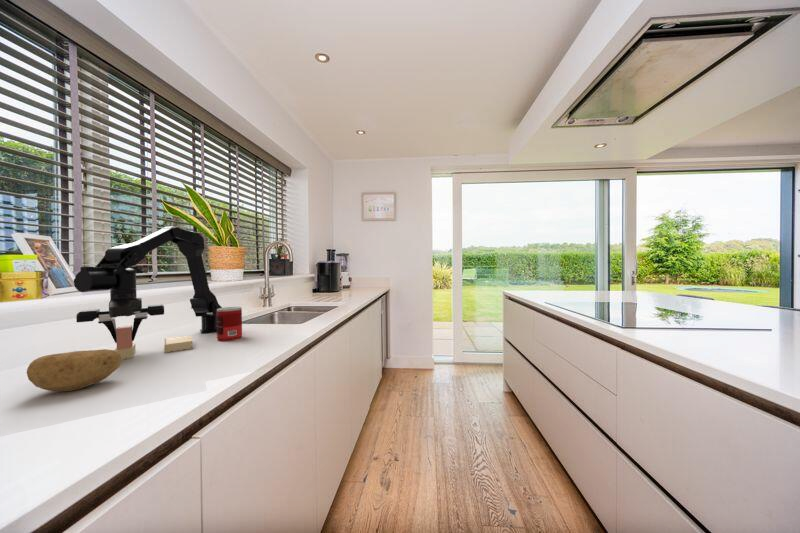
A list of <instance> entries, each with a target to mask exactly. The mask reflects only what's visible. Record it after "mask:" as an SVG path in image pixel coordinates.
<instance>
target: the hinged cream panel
mask: <svg viewBox="0 0 800 533" xmlns="http://www.w3.org/2000/svg"><path fill="white" fill-rule="evenodd" d="M163 340H164V342H163V343H164V348H163V349H164V350H163V351H164V353H165V352H166V353H171V352H170V351H173V352H177V350H179V351H184V350H183V349H186V350H191V348H192V349H193V344H194V343H193V338H192V336H191V335H185V336H177V337H169V338H164V339H163Z"/></svg>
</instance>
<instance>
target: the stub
mask: <svg viewBox="0 0 800 533" xmlns="http://www.w3.org/2000/svg"><path fill="white" fill-rule="evenodd" d="M132 331H133V325H123V326H116V338H117V343H116V347H115V349H114V350H115V351H117V352H119V353H120V355H121V357H122V360H126V359H125V358H127V359H131V358H132V357H133V358H134V356H135V353H136V342H134V341H132ZM133 355H134V356H133Z"/></svg>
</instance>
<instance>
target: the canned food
mask: <svg viewBox="0 0 800 533" xmlns="http://www.w3.org/2000/svg"><path fill="white" fill-rule="evenodd" d="M242 311H243V310H242V307H241V306H224V307H222V308H219V309H217V331H216V338H217V341H219V342H231V341H235V339H236V340H239V339H241V338H242V337H243V312H242ZM230 340H231V341H230Z"/></svg>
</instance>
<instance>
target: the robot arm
mask: <svg viewBox="0 0 800 533" xmlns="http://www.w3.org/2000/svg"><path fill="white" fill-rule="evenodd" d="M169 242H170V243H172V244H175V245H176V246H177V248H178V251H179V252H180V253H181V254H182V255H183V256H184V257H185V259H186V262H187V266H188V270H189V274H190V278H191V282H192V286H193V290H194V294H193V297H192V298H190V299H189V302H190V305H191V308H190V309H192V310H193V312H194V315H195V317H196V318H198V317H201V318H200V320H201V328H200V329H199V332H200V333H201V334H205V333H213V332H217V309H219V308H223V307H222V306H221V305H220V304H219V302H218V299H217V297H216V295H215V294H214V293H213V292H212V291H211V290H210V286H209V282H208V278H207V273H206V269H205V264H204V260H203V253H204V250H205V239H204V236H203V235H202V234H200V233H198V232H193V231H190V230H186V229H183V228H180V227H177V226H164V227H162V228H160V229H159V230H157V231H155V232H152V233H151V234H149V235H148V234H147V236H144V237H142V238H140V239H138V240H135V241H134V242H129V243H125V244H121V245H116V246H112V247H110V248H108V249H106V250H105V253H104V256H103V257H102V259H100V261H99V262H98V263H97V265H95V267H94V266H80V267H79V268H80V271H78V272H77V273H76V275H75V278H73V286H74V288H75V289H76V290H77V292H81V293H90V292H91V293H92V292H105V291H109V290H110V291H109V296H110V300H109V303H108V310H104V311H101V310H100V309H99V308H94V309H83V310H81V311H79V312H77V313H76V318H75V320H76V323H86V322H93V321H95V320H96V319H97V320H98V321H97V322H98V324H103V325H104V326H105V327H106V329H107V330H108V331H109V333H110V334H111V337H112V339H113V341H114V343H115V344H117V338H116V329H117V322H116V318H117V317H118V318H119V317H131V316H134V318H133V325H132V341H133V342H134V341H135V338H136V336H137V332H138V329H139V328H140V325H141V323H142V322H143V320H147V319H148V315H149V316H160V315H161V316H162V315H165V305H164V304H161V303H160V304H150V305H147V307H143V301H142V299H143V298H142V297H137V274H144V270H142V269H141V268H139V267H138V266H137V265H138V264H140V263H141V262H142V261H143V260H144V259H146V256H147V254H148V253H150V252H152V251H154V250H156V249H157V248H159V247H161V246H162V245H164V244H167V243H169Z"/></svg>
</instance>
